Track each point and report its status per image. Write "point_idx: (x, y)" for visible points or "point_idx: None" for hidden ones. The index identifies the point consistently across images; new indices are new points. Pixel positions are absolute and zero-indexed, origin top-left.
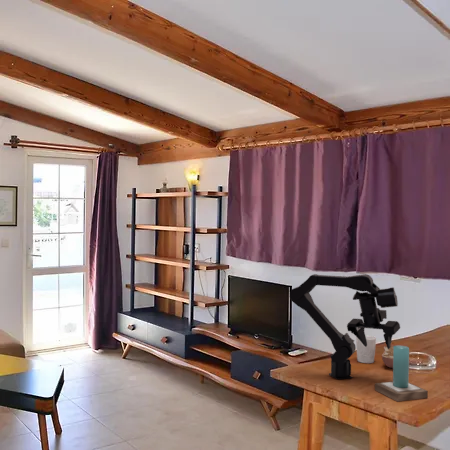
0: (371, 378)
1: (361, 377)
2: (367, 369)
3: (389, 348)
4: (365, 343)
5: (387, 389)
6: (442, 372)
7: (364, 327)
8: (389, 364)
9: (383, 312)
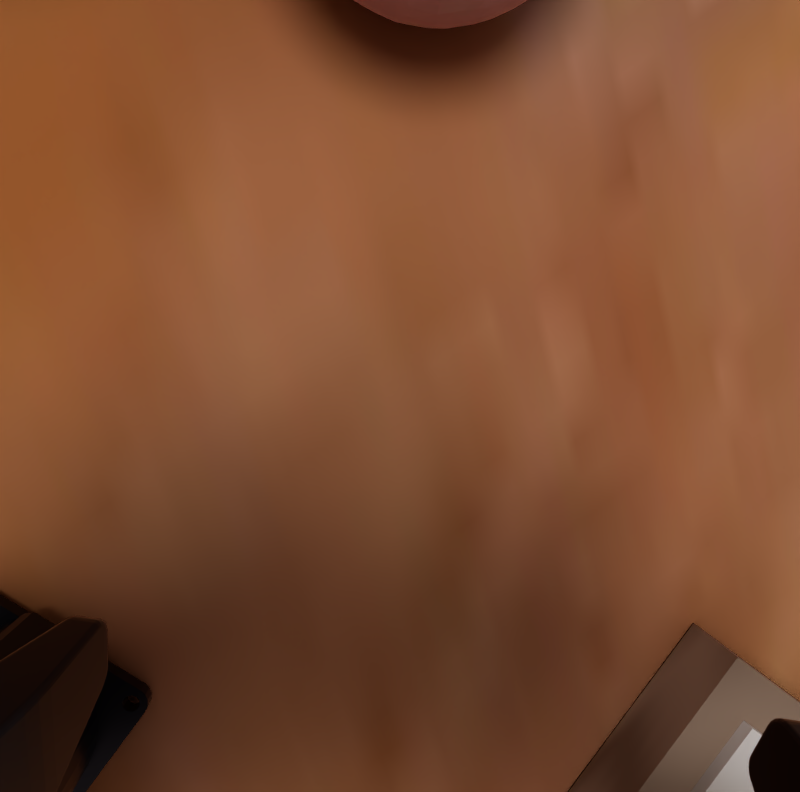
0: (334, 549)
1: (225, 584)
2: (159, 204)
3: (785, 749)
4: (54, 761)
5: None
6: None
7: None
8: (409, 23)
9: None
